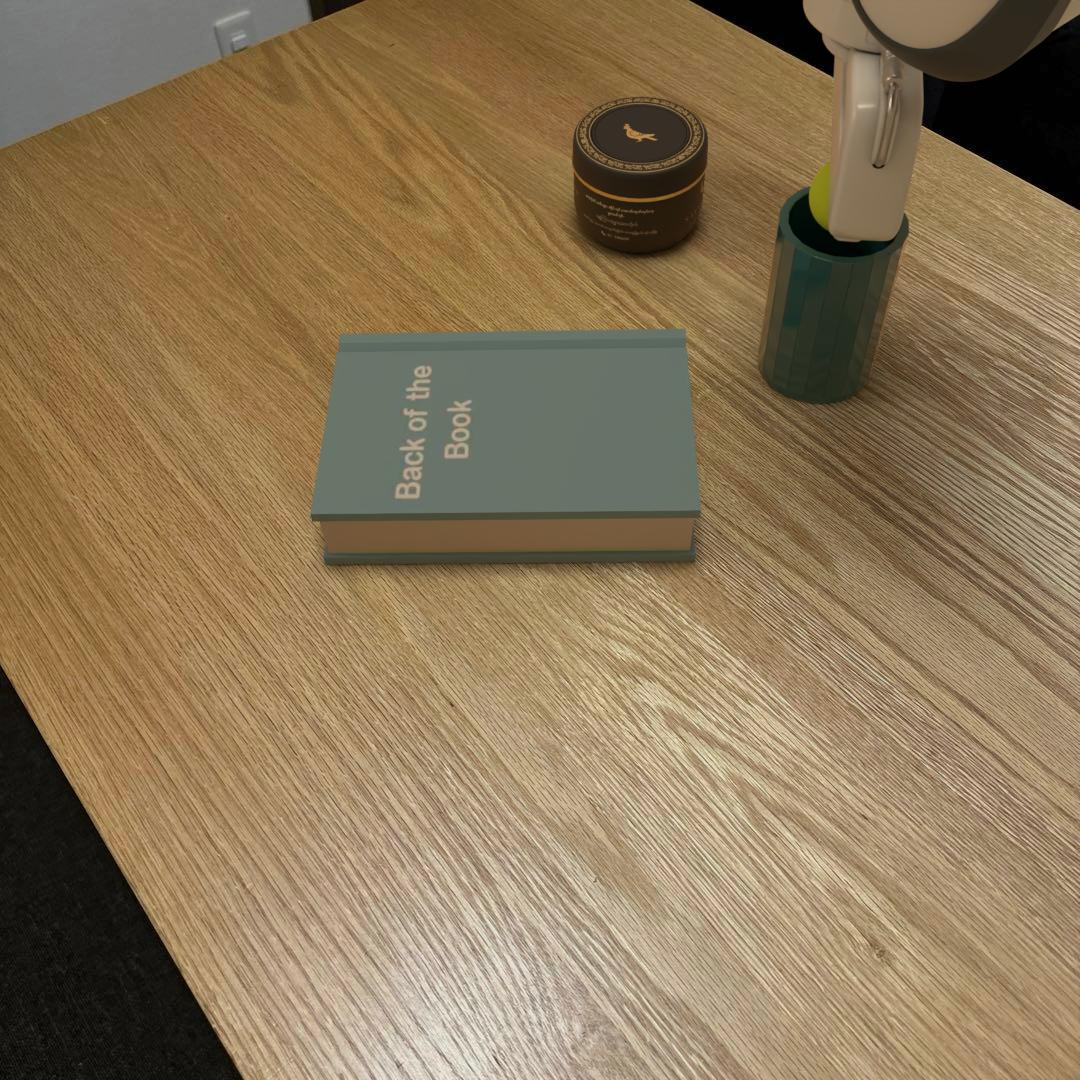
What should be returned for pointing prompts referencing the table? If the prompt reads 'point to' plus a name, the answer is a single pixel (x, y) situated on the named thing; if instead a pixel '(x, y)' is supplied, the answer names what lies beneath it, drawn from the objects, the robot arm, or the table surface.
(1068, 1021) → the table surface
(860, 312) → the tube
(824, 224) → the ball
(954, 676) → the table surface
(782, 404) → the table surface
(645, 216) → the jar
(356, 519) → the book
